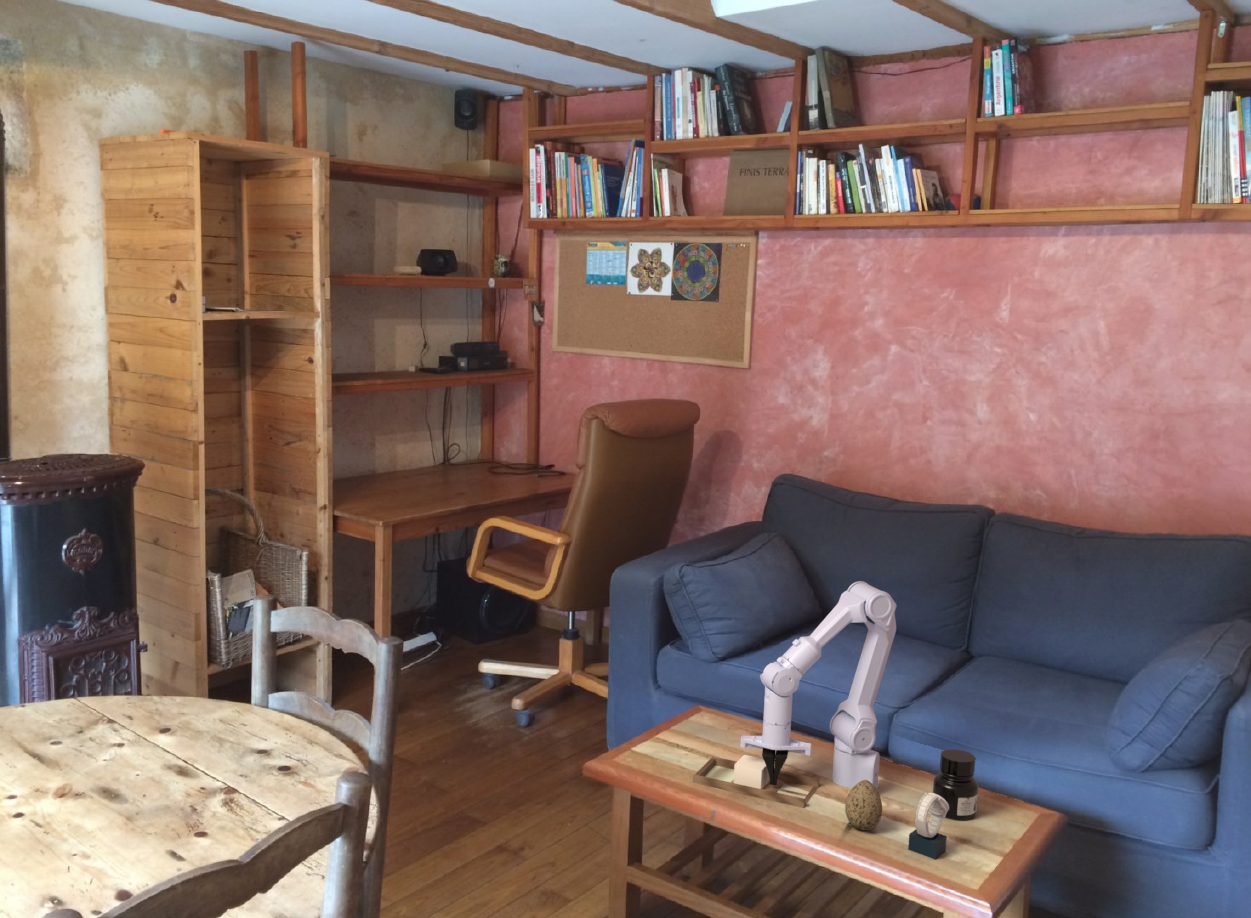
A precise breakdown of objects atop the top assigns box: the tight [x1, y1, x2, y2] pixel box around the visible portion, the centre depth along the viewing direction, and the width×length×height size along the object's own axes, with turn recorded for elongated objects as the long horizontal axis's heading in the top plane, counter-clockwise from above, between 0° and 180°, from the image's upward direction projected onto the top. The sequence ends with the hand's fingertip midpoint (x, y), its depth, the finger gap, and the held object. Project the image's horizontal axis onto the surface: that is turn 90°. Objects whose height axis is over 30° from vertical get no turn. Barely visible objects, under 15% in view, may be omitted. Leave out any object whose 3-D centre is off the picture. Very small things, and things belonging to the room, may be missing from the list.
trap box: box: [692, 756, 821, 809], centre depth 232 cm, size 24×12×3 cm, turn 65°
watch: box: [907, 792, 949, 860], centre depth 208 cm, size 6×8×11 cm
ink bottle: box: [932, 748, 979, 821], centre depth 225 cm, size 10×9×12 cm
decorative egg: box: [844, 780, 883, 831], centre depth 217 cm, size 7×7×10 cm
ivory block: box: [734, 754, 770, 789], centre depth 233 cm, size 6×6×4 cm
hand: (773, 782), depth 231 cm, fingers closed
